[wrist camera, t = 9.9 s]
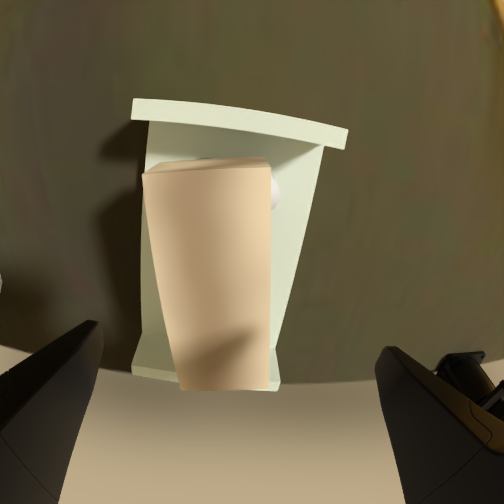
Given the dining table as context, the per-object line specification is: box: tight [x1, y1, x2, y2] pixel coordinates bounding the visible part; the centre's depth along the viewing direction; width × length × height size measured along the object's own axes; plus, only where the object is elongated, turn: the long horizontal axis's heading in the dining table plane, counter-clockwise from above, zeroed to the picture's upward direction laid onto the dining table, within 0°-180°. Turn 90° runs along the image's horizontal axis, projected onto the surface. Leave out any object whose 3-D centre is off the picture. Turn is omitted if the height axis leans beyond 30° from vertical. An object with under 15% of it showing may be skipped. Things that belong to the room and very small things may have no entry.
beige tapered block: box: [142, 157, 271, 391], centre depth 16 cm, size 5×12×3 cm, turn 1°
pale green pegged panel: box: [131, 99, 348, 391], centre depth 19 cm, size 10×17×4 cm, turn 171°
